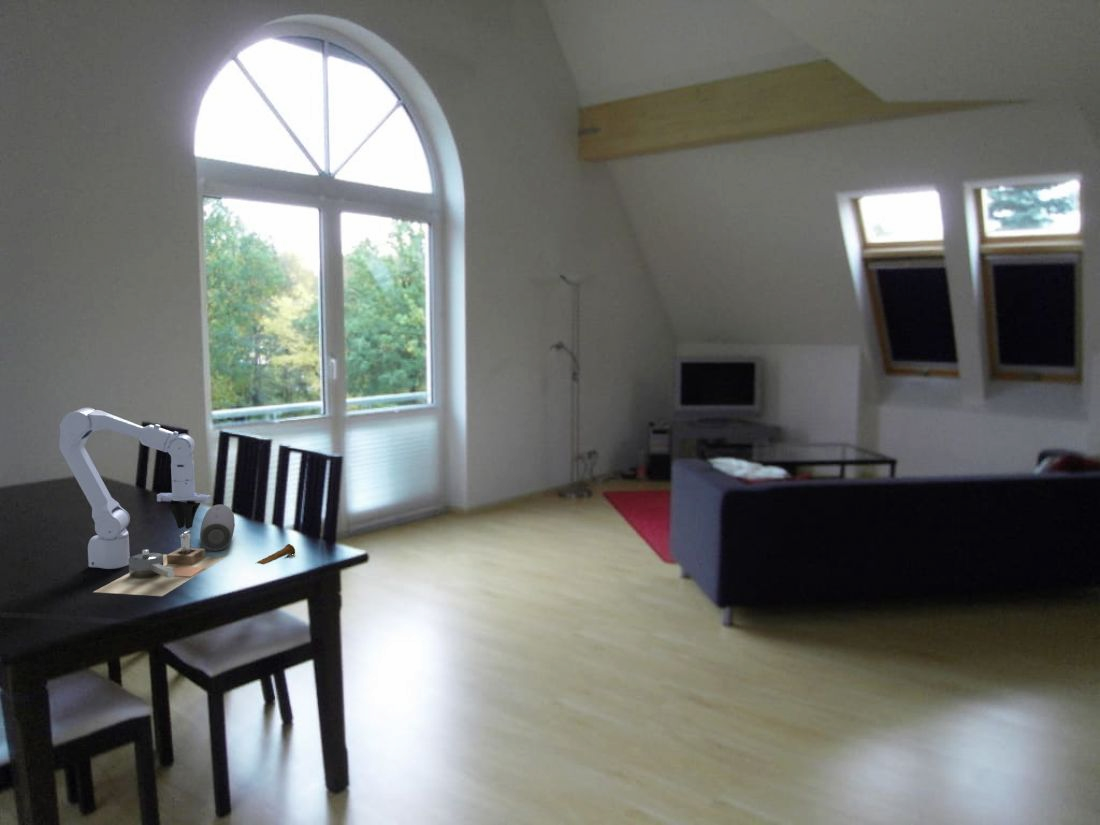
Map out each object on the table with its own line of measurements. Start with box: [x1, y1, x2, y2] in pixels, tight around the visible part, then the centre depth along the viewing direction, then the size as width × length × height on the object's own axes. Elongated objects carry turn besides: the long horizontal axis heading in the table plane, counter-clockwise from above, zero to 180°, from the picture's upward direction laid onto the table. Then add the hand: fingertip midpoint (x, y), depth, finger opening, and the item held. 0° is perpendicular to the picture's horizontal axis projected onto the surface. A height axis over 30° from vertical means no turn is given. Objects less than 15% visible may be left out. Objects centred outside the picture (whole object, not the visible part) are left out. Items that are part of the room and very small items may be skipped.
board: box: [93, 553, 225, 597], centre depth 208 cm, size 18×30×1 cm, turn 174°
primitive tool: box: [256, 543, 296, 565], centre depth 221 cm, size 19×6×4 cm, turn 161°
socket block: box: [166, 547, 206, 565], centre depth 219 cm, size 7×7×2 cm
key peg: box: [179, 529, 192, 554], centre depth 218 cm, size 2×4×8 cm, turn 174°
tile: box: [174, 566, 205, 577], centre depth 209 cm, size 7×7×1 cm
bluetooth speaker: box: [199, 504, 236, 552], centre depth 237 cm, size 23×9×10 cm, turn 20°
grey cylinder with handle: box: [128, 548, 174, 578], centre depth 204 cm, size 17×8×6 cm, turn 52°
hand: (185, 527), depth 218 cm, fingers closed
